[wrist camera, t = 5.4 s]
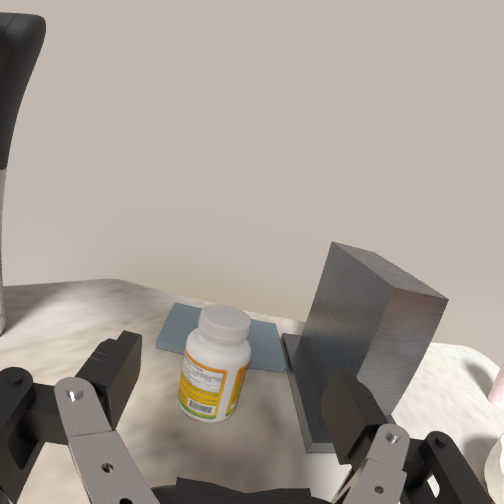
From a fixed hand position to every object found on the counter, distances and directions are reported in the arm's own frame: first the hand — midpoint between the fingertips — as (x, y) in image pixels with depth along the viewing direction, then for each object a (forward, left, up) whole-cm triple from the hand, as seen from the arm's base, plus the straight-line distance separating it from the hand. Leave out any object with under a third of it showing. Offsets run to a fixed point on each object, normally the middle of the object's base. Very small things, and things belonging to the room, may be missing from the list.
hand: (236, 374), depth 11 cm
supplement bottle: (0, +11, -13) cm, 17 cm away
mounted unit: (+14, +16, -13) cm, 25 cm away
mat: (+1, +24, -13) cm, 27 cm away
